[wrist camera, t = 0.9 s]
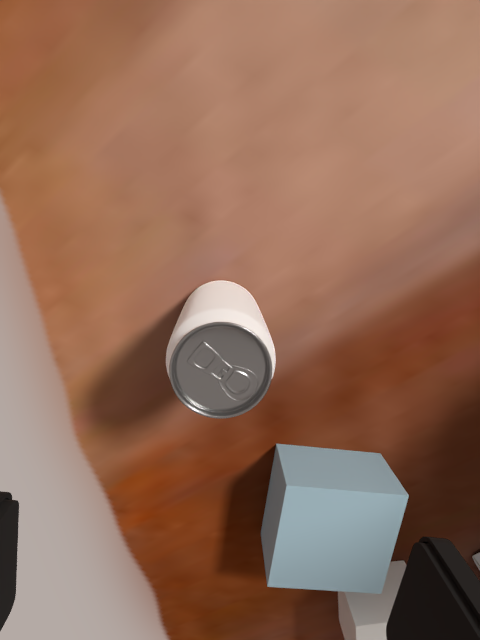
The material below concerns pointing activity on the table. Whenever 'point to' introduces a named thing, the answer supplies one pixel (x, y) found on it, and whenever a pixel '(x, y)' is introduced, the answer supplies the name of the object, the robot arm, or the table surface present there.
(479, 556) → the tea box
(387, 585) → the grey block
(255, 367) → the can
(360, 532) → the pedestal block
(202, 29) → the table surface
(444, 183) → the table surface
